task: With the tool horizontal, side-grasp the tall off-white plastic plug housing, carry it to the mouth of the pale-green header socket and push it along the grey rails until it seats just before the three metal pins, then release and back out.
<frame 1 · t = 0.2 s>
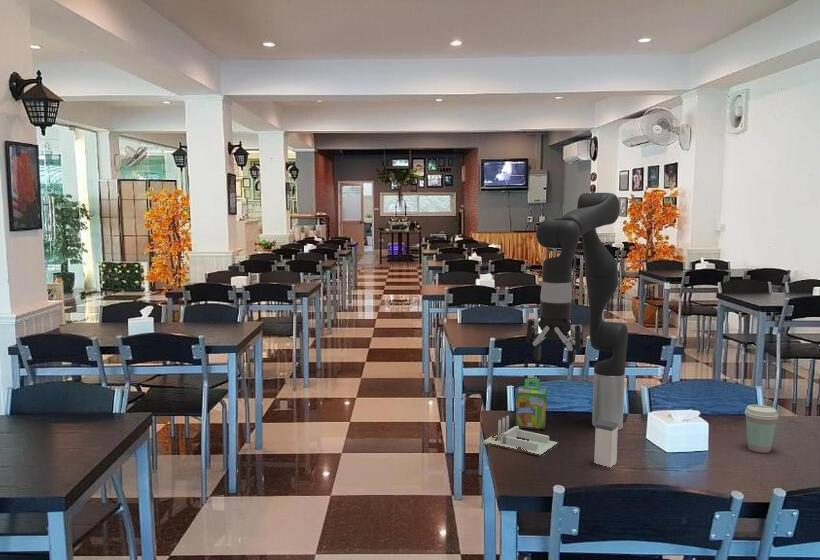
hand: (553, 362, 171), 29 cm above the table, tool pointing down, fingers open, 8 cm apart
plug housing: (605, 463, 179), on the table
chalk box: (530, 426, 211), on the table
coffee cup: (759, 449, 191), on the table
header socket: (520, 444, 193), on the table
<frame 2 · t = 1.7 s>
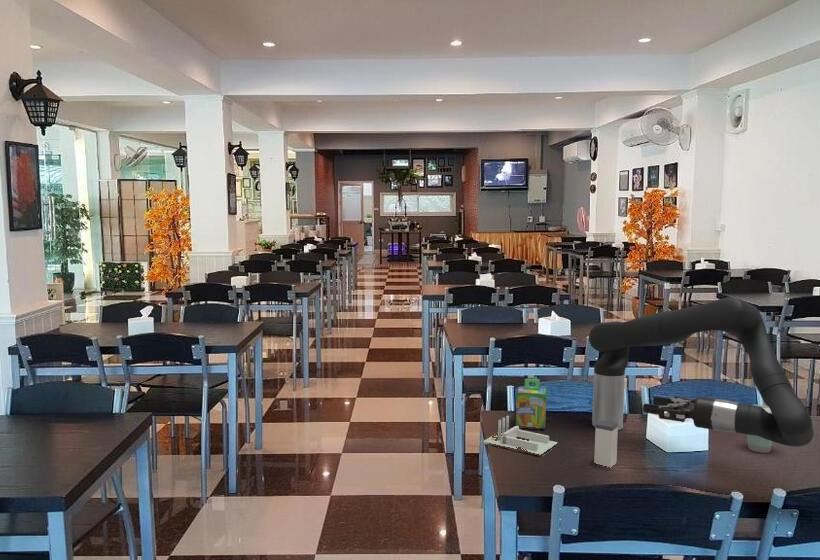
hand: (648, 404, 171), 18 cm above the table, tool horizontal, fingers open, 8 cm apart
nothing on the table moved.
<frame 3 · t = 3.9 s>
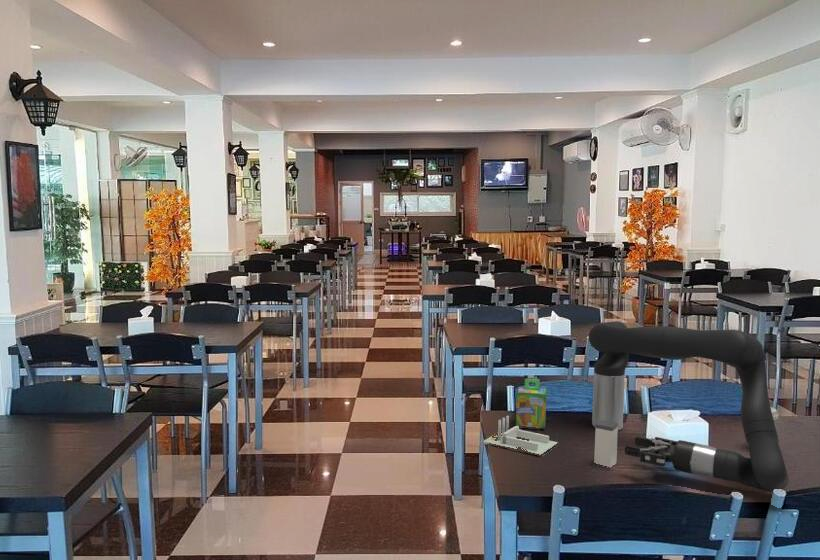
hand: (630, 445, 175), 6 cm above the table, tool horizontal, fingers open, 8 cm apart
nothing on the table moved.
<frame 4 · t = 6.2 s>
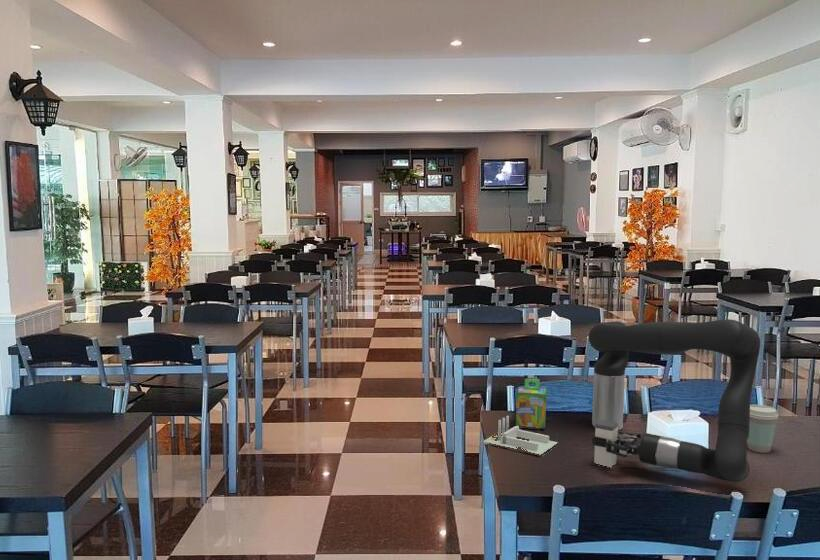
hand: (596, 437, 180), 7 cm above the table, tool horizontal, fingers closed on plug housing, 4 cm apart
plug housing: (605, 463, 179), on the table, touching gripper
everything else where it was.
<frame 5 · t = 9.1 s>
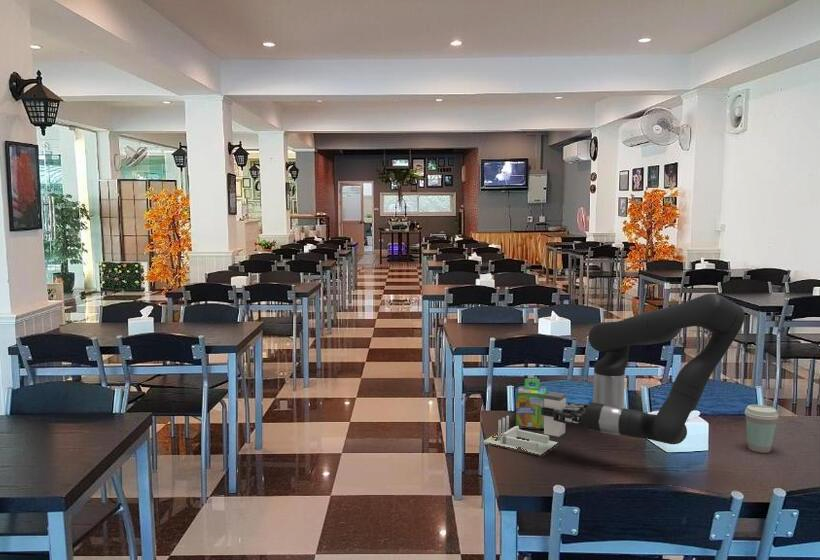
hand: (545, 408, 188), 12 cm above the table, tool horizontal, fingers closed on plug housing, 4 cm apart
plug housing: (554, 433, 187), point 6 cm above the table, touching gripper
everything else where it was.
when the fingers open (9 cm above the table, at t = 12.1 s): plug housing drops 2 cm, resting on header socket.
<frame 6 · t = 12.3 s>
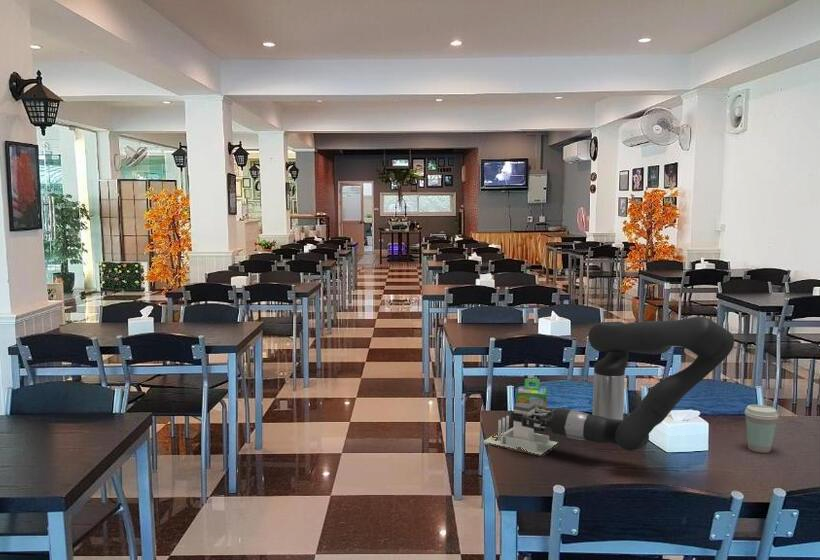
hand: (516, 413, 193), 9 cm above the table, tool horizontal, fingers open, 6 cm apart
plug housing: (523, 442, 193), point 1 cm above the table, touching header socket
everything else where it was.
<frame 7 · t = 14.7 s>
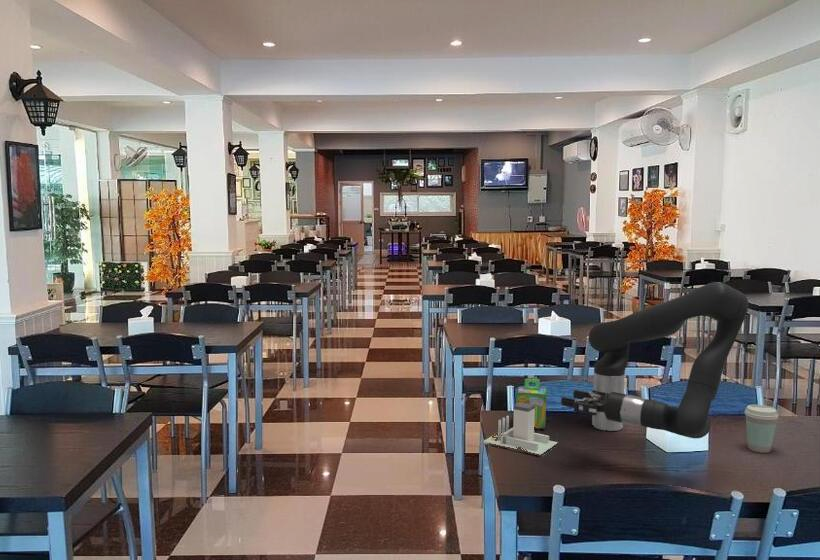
hand: (567, 397, 184), 16 cm above the table, tool horizontal, fingers open, 8 cm apart
nothing on the table moved.
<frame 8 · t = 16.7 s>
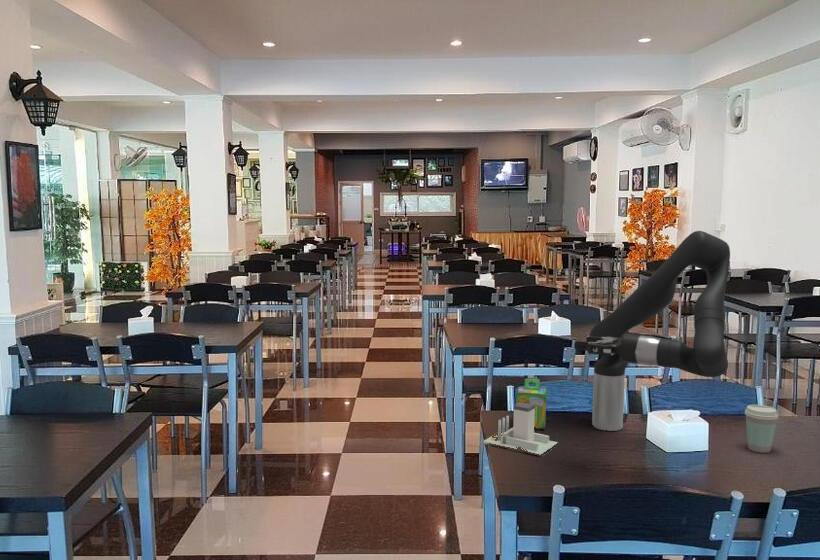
hand: (580, 342, 180), 32 cm above the table, tool horizontal, fingers open, 8 cm apart
nothing on the table moved.
at the end: plug housing inside the target area (0.0 cm from its centre), point 0.8 cm above the table; plug housing tilted 0°; the gripper is holding nothing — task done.
